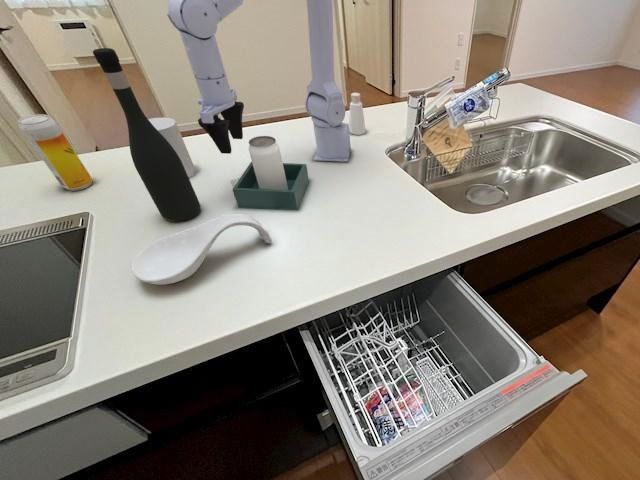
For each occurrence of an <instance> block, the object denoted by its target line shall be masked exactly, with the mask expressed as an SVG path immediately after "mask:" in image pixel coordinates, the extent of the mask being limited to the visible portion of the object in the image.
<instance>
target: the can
mask: <svg viewBox="0 0 640 480" xmlns="http://www.w3.org/2000/svg"><path fill="white" fill-rule="evenodd" d="M248 145H249V147H248V153H249V157H250V160H251V162H252V164H253V167H254V171H255V175H256V178H257V182H258V185H259V188H260V189H273V190H288V186H287V181H286V176H285V171H284V167H283V163H284V162H283V159H282V152H281V149H280V146H279V143H277V141H276V138H275V137H273V136H270V135H259V136H254V137H252V138H250V139H249V140H248Z"/></svg>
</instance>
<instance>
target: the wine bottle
mask: <svg viewBox="0 0 640 480" xmlns="http://www.w3.org/2000/svg"><path fill="white" fill-rule="evenodd" d="M92 54H93V56H94V58H95V60H96V62H97V64H99V66H100V67H101V69H102V71H103V73H104V75H105V77H106V78H107V81H108V83H109V85H110V87H111V89H112V91H113V93H114V94H115V97H116V98H117V101H118V102H119V104H120V107H121V109H122V111H123V113H124V116H125V120H126V123H127V131H128V143H129V151H130V156H131V159H132V163H133V165H134V168H135V170H136V172H137V174H138V175H139V177H140V179H141V181H142V183H143V185H144V186H145V188H146V190H147V192H148V194H149V196H150V197H151V199H152V201H153V203H154V205H155V207H156V209H157V210H158V212H159V214H160V216H161V217H162V218H163V219H165V220H167V221H171V222H183V221H187V220H189V219H192V218H194V217H195V216H197V215H198V214H199V212H200V211H201V203H200V201H199V198H198V196H197V193H196V191H195V189H194V186H193V185H192V182H191V180H190V177H189V178H188V175H187V173H186V171H185V168H184V166H183V164H182V161H181V159H180V158H179V156H178V154H177V153H176V151H175V150H174V149H173V147H172V146H171V145H170V143H169V142H168V141H167V140H166V139H165V138H164V137H163V136H162V134H161V133H160V132H159V131H158V130H157V129H156V128H155V127H154V126H153V125H152V124H151V122H150V121H149V120H148V119H149V118H148V117H147V116H146V114H145V113H144V111H143V110H142V108H141V106H140V104H139V102H138V100H137V98H136V96H135V94H134V92H133V89H132V87H131V85H130V83H129V79H128V78H127V75H126V74H125V72H124V70H123V68H122V65H121V63H120V59H119V57H118V54H117V52H116V51H115V49H113V48H110V47H102V48H96V49H93V50H92Z"/></svg>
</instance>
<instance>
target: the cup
mask: <svg viewBox="0 0 640 480" xmlns="http://www.w3.org/2000/svg"><path fill="white" fill-rule="evenodd" d="M147 119H148V120H149V121H150V122H151V124H152V125H153V126H154V127H155V128H156V129H157V130H158V131H159V132H160V133H161V134H162V136H163V137H164V138H165V139H166V140H167V141H168V142H169V143H170V145H171V146H172V147H173V149H174V150H175V151H176V153H177V154H178V156H179V158H180V159H181V161H182V164H183V166H184V168H185V171H186V173H187V175H188V178H189V179H190V178H191V177H193V176H194V175H195V174H196V171H197V170H196V168H195V165H194V163H193V160H192V158H191V155H190V153H189V151H188V148H187V146H186V142H185V141H184V138H183V136H182V134H181V131H180V130H179V126H178V124H177V122H176V120H175V119H174V118H172V117H163V116H162V117H153V118H147Z"/></svg>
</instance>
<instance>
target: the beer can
mask: <svg viewBox="0 0 640 480" xmlns="http://www.w3.org/2000/svg"><path fill="white" fill-rule="evenodd" d="M17 123H18V128H19V130H20V131H21V133H22V134H23V135H24V137H25V138H26V139H27V140H28V142H29V144H30V145H31V146H32V148H33V149H34V150H35V152H36V153H37V154H38V156H39V157H40V159H41V160H42V161H43V162H44V164H45V166H46V167H47V168H48V170H49V171H50V172H51V173H52V175H53V177H55V179H56V180H57V182H58V183H59V184H60V186H61V187H62V188H64V189H67V191H73V192H75V191H80V190H84V189H87V188H89V187H91V185H92V184H93V182H92V181H93V177H92V176H91V174H90V172H89V171H88V170H87V168H86V166H85V165H84V163H83V162H82V160H81V159H80V158H79V156H78V154H77V153H76V151H75V150H74V148H73V146H72V145H71V143H70V142H69V140H68V138H66V136H65V134H64V133H63V131H62V129H61V128H60V127H59V125H58V123H57V122H56V120H54V118H52V117H51V116H50V115H48V114H43V113H40V114H39V113H38V114H31V115H26V116H23V117H21V118H19V119H17Z"/></svg>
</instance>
